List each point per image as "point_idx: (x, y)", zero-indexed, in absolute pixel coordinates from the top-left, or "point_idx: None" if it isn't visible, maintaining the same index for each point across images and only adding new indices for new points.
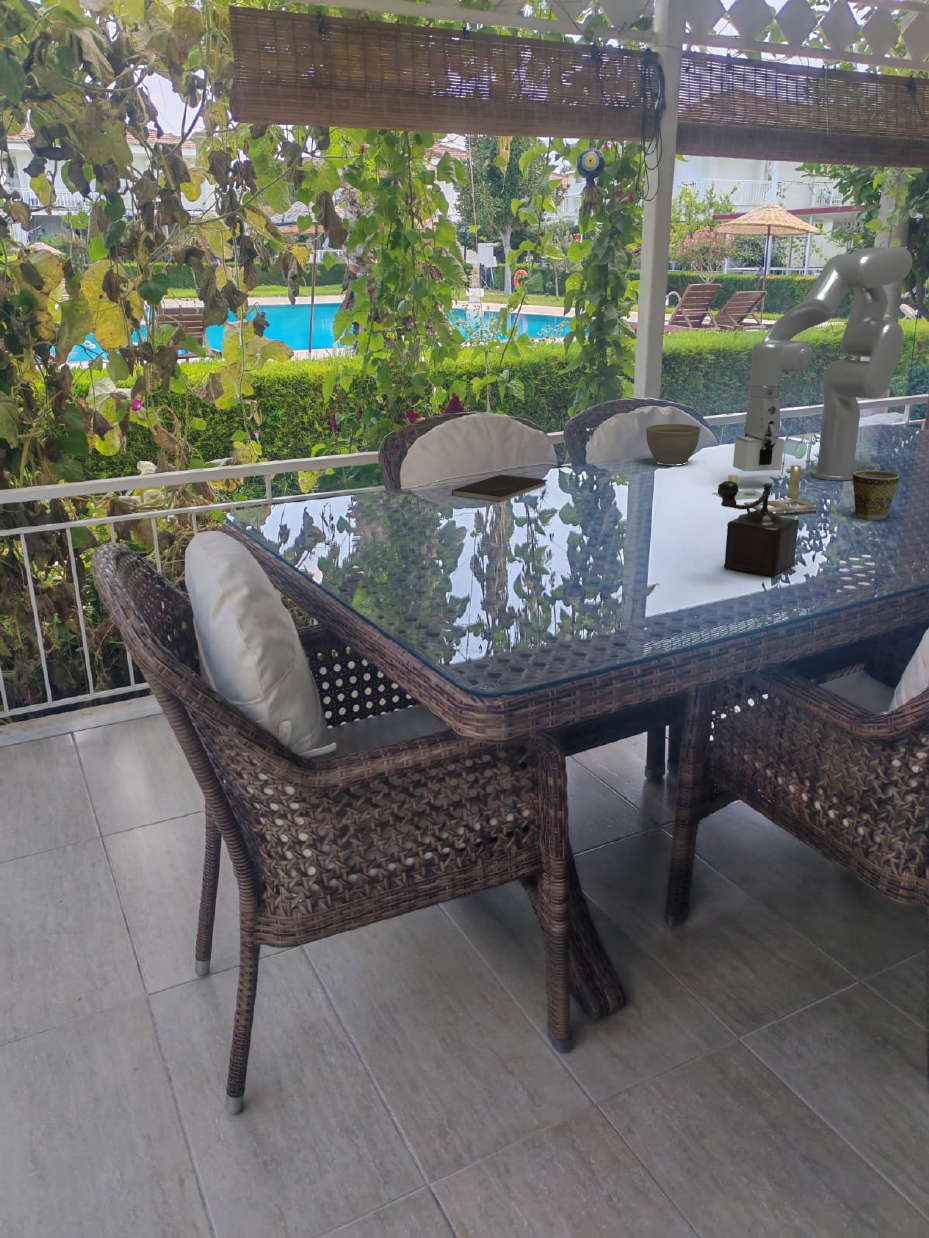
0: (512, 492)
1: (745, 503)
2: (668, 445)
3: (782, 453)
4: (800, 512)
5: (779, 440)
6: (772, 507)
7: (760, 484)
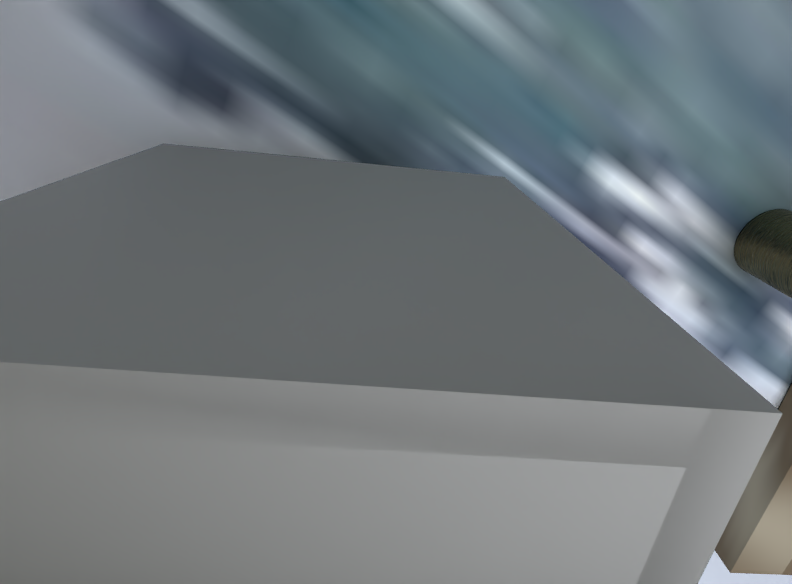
0: None
1: (742, 571)
2: None
3: (582, 247)
4: None
5: (691, 524)
6: None
7: (125, 94)
